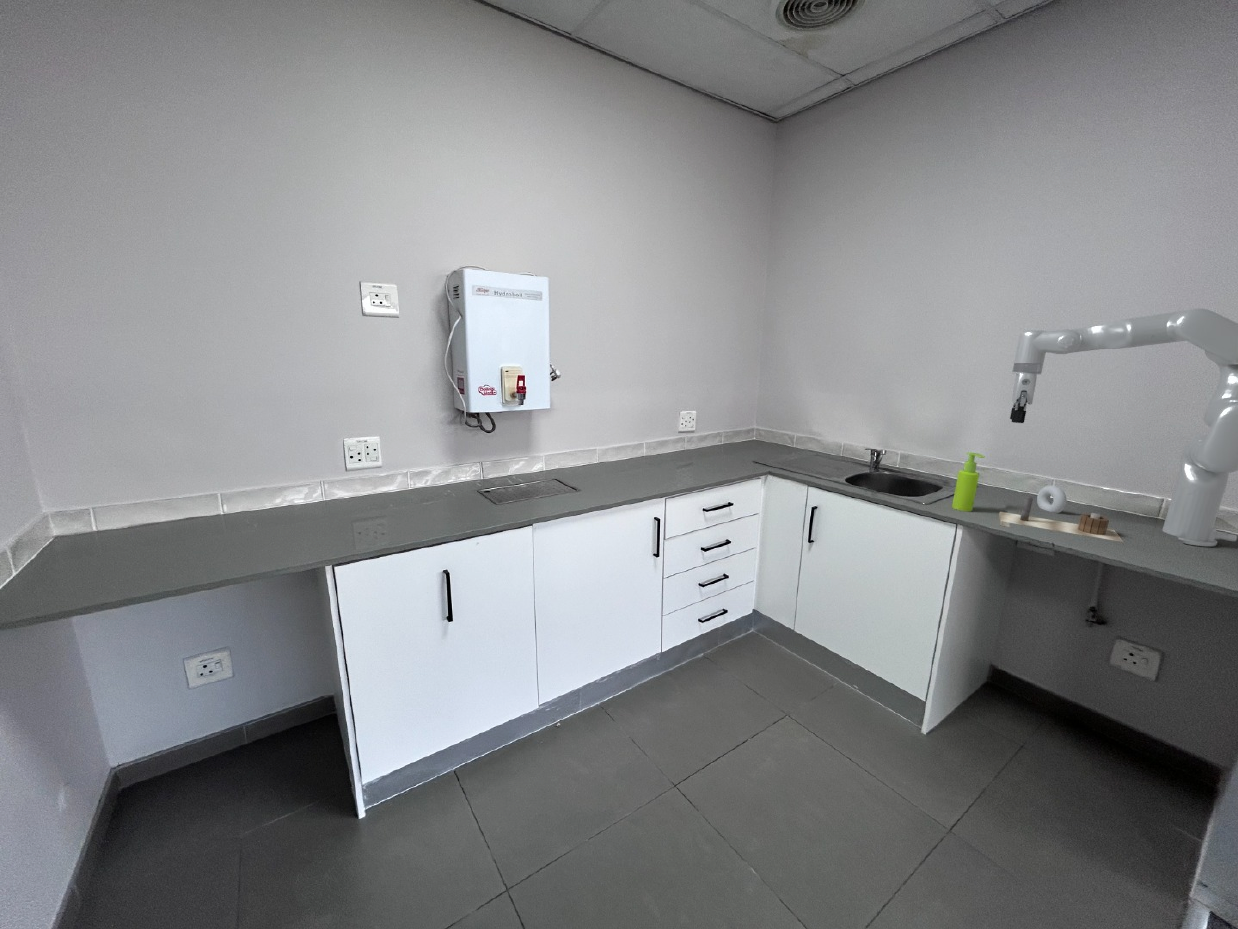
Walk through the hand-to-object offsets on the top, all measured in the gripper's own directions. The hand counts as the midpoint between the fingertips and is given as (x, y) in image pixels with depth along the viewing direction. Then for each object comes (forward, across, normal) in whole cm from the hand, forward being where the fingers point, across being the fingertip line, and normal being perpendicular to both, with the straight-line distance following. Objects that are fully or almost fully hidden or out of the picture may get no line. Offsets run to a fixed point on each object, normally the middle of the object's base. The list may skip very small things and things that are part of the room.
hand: (1016, 421), depth 167 cm
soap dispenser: (+31, -8, +10) cm, 34 cm away
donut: (+31, +5, -14) cm, 35 cm away
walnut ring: (+30, -15, -22) cm, 40 cm away
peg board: (+31, -15, -14) cm, 37 cm away
